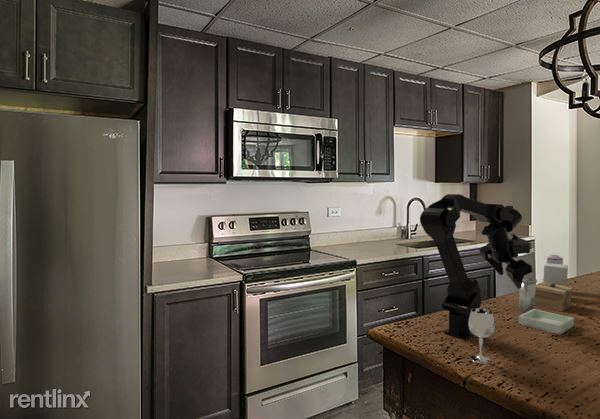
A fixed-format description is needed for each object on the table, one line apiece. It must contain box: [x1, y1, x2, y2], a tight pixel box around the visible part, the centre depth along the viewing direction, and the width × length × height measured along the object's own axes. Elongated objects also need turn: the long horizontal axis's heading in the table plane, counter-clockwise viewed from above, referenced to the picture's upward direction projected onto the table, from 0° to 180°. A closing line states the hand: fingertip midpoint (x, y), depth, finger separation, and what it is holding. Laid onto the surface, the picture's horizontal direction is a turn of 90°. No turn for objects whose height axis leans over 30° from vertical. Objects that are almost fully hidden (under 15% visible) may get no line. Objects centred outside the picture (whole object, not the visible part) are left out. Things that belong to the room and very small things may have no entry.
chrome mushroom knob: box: [518, 277, 538, 314], centre depth 132 cm, size 5×5×11 cm
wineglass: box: [468, 307, 496, 365], centre depth 95 cm, size 6×6×12 cm
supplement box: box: [542, 263, 569, 286], centre depth 148 cm, size 7×7×13 cm
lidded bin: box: [535, 281, 574, 312], centre depth 138 cm, size 10×10×8 cm
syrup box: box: [543, 254, 564, 266], centre depth 157 cm, size 6×6×14 cm
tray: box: [518, 308, 575, 336], centre depth 119 cm, size 11×11×2 cm
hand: (510, 281), depth 126 cm, fingers open, 9 cm apart
